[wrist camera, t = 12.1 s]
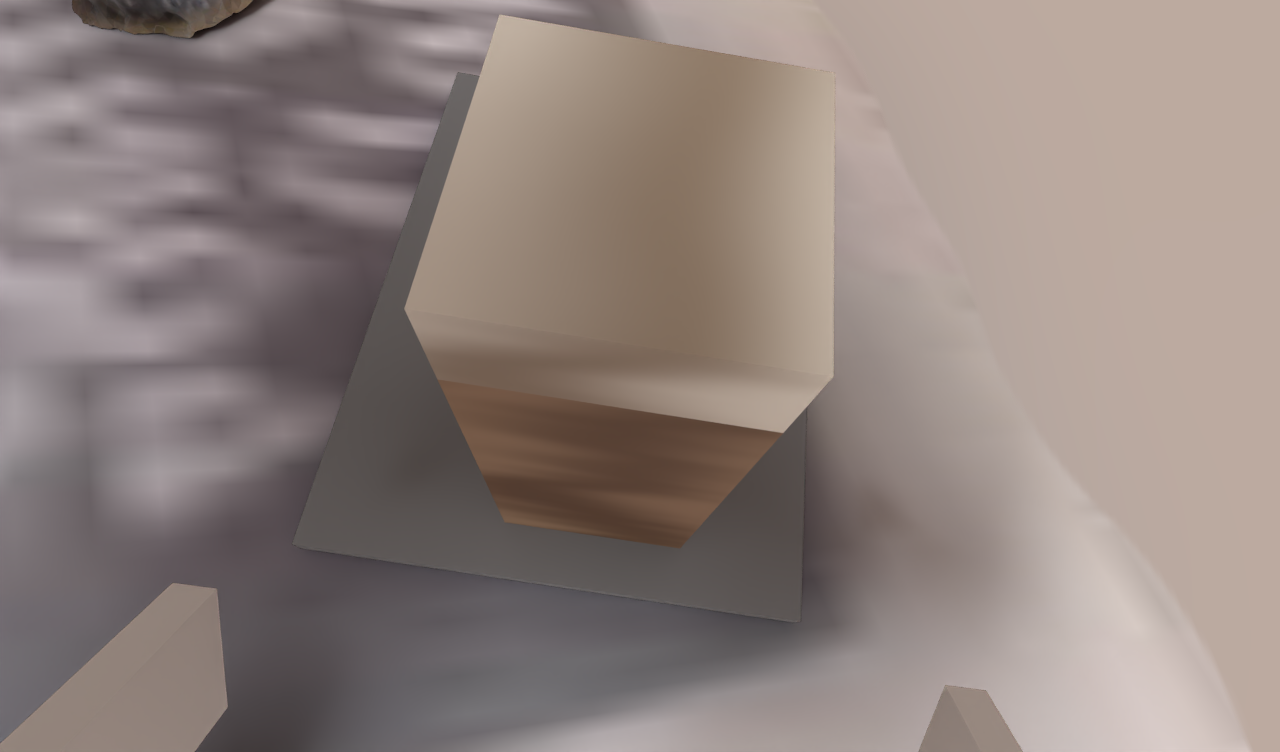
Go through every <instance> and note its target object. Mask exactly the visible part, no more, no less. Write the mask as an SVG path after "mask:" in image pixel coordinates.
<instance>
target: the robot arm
mask: <svg viewBox="0 0 1280 752" xmlns="http://www.w3.org/2000/svg"><path fill="white" fill-rule="evenodd" d="M227 708H228V704H227V693H226V682H225V671H224V660H223V649H222V638H221V628H220V617H219V606H218V595H217V589H215V588H208V587H200V586H193V585H185V584H177V583H172V584H171V585H170V586H169V587H168V588H167V589H166V590H164V591H163V592H162V593H161V594H160V595H159V596H158V597H157V598H156V599H155V600H154V601H153V602H152V603H151V604H149V605H148V606H147V607H146V608H145V609H144V610H143V611H142V612H141V613H140V614H139V615H138V616H137V617H136V618H134V619H133V620H132V621H131V622H130V623H129V624H128V625H127V626H126V627H125V628H124V629H123V630H122V631H120V632H119V633H118V634H117V635H116V636H115V637H114V638H113V639H112V640H111V641H110V642H109V643H108V644H107V645H105V646H104V647H103V648H102V649H101V650H100V651H99V652H98V653H97V654H96V655H95V656H94V657H93V658H92V659H90V660H89V661H88V662H87V663H86V664H85V665H84V666H83V667H82V668H81V669H80V670H79V671H78V672H77V673H75V674H74V675H73V676H72V677H71V678H70V679H69V680H68V681H67V682H66V683H65V684H64V685H63V686H62V687H60V688H59V689H58V690H57V691H56V692H55V693H54V694H53V695H52V696H51V697H50V698H49V699H48V700H47V701H45V702H44V703H43V704H42V705H41V706H40V707H39V708H38V709H37V710H36V711H35V712H34V713H33V714H32V715H30V716H29V717H28V718H27V719H26V720H25V721H24V722H23V723H22V724H21V725H20V726H19V727H18V728H17V729H15V730H14V731H13V732H12V733H11V734H10V735H9V736H8V737H7V738H6V739H5V740H4V741H3V742H2V743H0V752H195V751H196V749H197V748H198V747H199V745H200V744H201V743H202V741H203V740H204V739H205V737H206V736H207V734H208V733H209V732H210V730H211V729H212V728H213V726H214V725H215V724H216V722H217V721H218V720H219V718H220V717H221V716H222V714H223V713H224V712H225V710H226V709H227ZM919 752H1023V751H1022V749H1021V748H1020V746H1019V744H1018V743H1017V741H1016V739H1015V738H1014V736H1013V734H1012V733H1011V731H1010V729H1009V728H1008V726H1007V724H1006V723H1005V721H1004V719H1003V718H1002V716H1001V714H1000V713H999V711H998V709H997V708H996V706H995V704H994V703H993V701H992V699H991V698H990V696H989V694H988V693H987V691H986V690H978V689H971V688H963V687H956V686H948V685H945V687H944V690H943V692H942V695H941V697H940V700H939V702H938V705H937V707H936V710H935V712H934V714H933V717H932V719H931V722H930V724H929V727H928V729H927V732H926V734H925V737H924V739H923V742H922V744H921V747H920V749H919Z"/></svg>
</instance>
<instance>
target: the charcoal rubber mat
mask: <svg viewBox="0 0 1280 752" xmlns="http://www.w3.org/2000/svg"><path fill="white" fill-rule="evenodd" d="M479 77H480V76H476V75H471V74H465V73H459V72H458V73H457V76H456V79H455V81H454V84H453V87H452V90H451V93H450V96H449V99H448V101H447V104H446V107H445V110H444V113H443V116H442V118H441V121H440V124H439V127H438V130H437V133H436V135H435V138H434V141H433V144H432V147H431V150H430V153H429V155H428V158H427V161H426V164H425V167H424V170H423V172H422V175H421V178H420V181H419V184H418V187H417V189H416V192H415V195H414V198H413V201H412V204H411V207H410V209H409V212H408V215H407V218H406V221H405V224H404V226H403V229H402V232H401V235H400V238H399V241H398V243H397V246H396V249H395V252H394V255H393V258H392V261H391V263H390V266H389V269H388V272H387V275H386V278H385V280H384V283H383V286H382V289H381V292H380V295H379V297H378V300H377V303H376V306H375V309H374V312H373V314H372V317H371V320H370V323H369V326H368V329H367V332H366V334H365V337H364V340H363V343H362V346H361V349H360V351H359V354H358V357H357V360H356V363H355V366H354V368H353V371H352V374H351V377H350V380H349V383H348V386H347V388H346V391H345V394H344V397H343V400H342V403H341V405H340V408H339V411H338V414H337V417H336V420H335V422H334V425H333V428H332V431H331V434H330V437H329V440H328V442H327V445H326V448H325V451H324V454H323V457H322V459H321V462H320V465H319V468H318V471H317V474H316V476H315V479H314V482H313V485H312V488H311V491H310V494H309V496H308V499H307V502H306V505H305V508H304V511H303V513H302V516H301V519H300V522H299V525H298V528H297V530H296V533H295V536H294V539H293V542H292V545H294V546H296V547H298V548H302V549H309V550H315V551H322V552H329V553H335V554H342V555H349V556H355V557H362V558H368V559H375V560H382V561H388V562H395V563H402V564H408V565H415V566H421V567H428V568H435V569H441V570H448V571H455V572H461V573H468V574H474V575H481V576H488V577H494V578H501V579H508V580H514V581H521V582H527V583H534V584H541V585H547V586H554V587H561V588H567V589H574V590H580V591H587V592H594V593H600V594H607V595H614V596H620V597H627V598H633V599H640V600H647V601H653V602H660V603H667V604H673V605H680V606H686V607H693V608H700V609H706V610H713V611H720V612H726V613H733V614H739V615H746V616H753V617H759V618H766V619H772V620H779V621H786V622H792V623H795V622H800V621H801V599H802V564H803V529H804V494H805V459H806V424H807V407H806V408H805V409H804V410H803V412H802V413H801V414H800V415H799V416H798V417H797V418H796V419H795V420H794V422H793V423H792V424H791V425H790V426H789V427H788V428H787V429H786V431H785V432H784V433H783V434H782V435H781V436H780V437H779V438H778V439H777V441H776V442H775V443H774V444H773V445H772V446H771V447H770V448H769V450H768V451H767V452H766V453H765V454H764V455H763V456H762V457H761V459H760V460H759V461H758V462H757V463H756V464H755V465H754V466H753V467H752V469H751V470H750V471H749V472H748V473H747V474H746V475H745V476H744V478H743V479H742V480H741V481H740V482H739V483H738V484H737V485H736V486H735V488H734V489H733V490H732V491H731V492H730V493H729V494H728V495H727V497H726V498H725V499H724V500H723V501H722V502H721V503H720V504H719V505H718V507H717V508H716V509H715V510H714V511H713V512H712V513H711V514H710V516H709V517H708V518H707V519H706V520H705V521H704V522H703V523H702V525H701V526H700V527H699V528H698V529H697V530H696V531H695V532H694V533H693V535H692V536H691V537H690V538H689V539H688V540H687V541H686V542H685V544H684V545H683V546H682V547H681V548H673V547H667V546H660V545H653V544H647V543H640V542H633V541H626V540H620V539H613V538H606V537H600V536H593V535H586V534H579V533H573V532H566V531H559V530H553V529H546V528H539V527H532V526H526V525H519V524H512V523H505V522H504V520H503V518H502V516H501V514H500V511H499V509H498V507H497V505H496V503H495V501H494V499H493V497H492V494H491V492H490V490H489V488H488V486H487V484H486V482H485V480H484V477H483V475H482V473H481V471H480V469H479V467H478V465H477V463H476V460H475V458H474V456H473V454H472V452H471V450H470V448H469V445H468V443H467V441H466V439H465V437H464V435H463V433H462V431H461V428H460V426H459V424H458V422H457V420H456V418H455V416H454V414H453V411H452V409H451V407H450V405H449V403H448V401H447V399H446V397H445V394H444V392H443V390H442V388H441V386H440V384H439V382H438V380H437V377H436V375H435V373H434V371H433V369H432V367H431V365H430V363H429V360H428V358H427V356H426V354H425V352H424V350H423V348H422V346H421V343H420V341H419V339H418V337H417V335H416V333H415V331H414V329H413V326H412V324H411V322H410V320H409V318H408V316H407V314H406V312H405V309H404V308H405V305H406V302H407V299H408V296H409V293H410V290H411V286H412V283H413V280H414V277H415V274H416V271H417V268H418V265H419V262H420V259H421V256H422V252H423V249H424V246H425V243H426V240H427V237H428V234H429V231H430V228H431V225H432V222H433V219H434V215H435V212H436V209H437V206H438V203H439V200H440V197H441V194H442V191H443V188H444V185H445V182H446V178H447V175H448V172H449V169H450V166H451V163H452V160H453V157H454V154H455V151H456V148H457V145H458V141H459V138H460V135H461V132H462V129H463V126H464V123H465V120H466V117H467V114H468V111H469V108H470V104H471V101H472V98H473V95H474V92H475V89H476V86H477V83H478V80H479Z"/></svg>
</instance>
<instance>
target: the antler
mask: <svg viewBox="0 0 1280 752" xmlns="http://www.w3.org/2000/svg"><path fill="white" fill-rule="evenodd" d="M252 1H253V0H72V8H73V11H74V12H75V13H76V14H78V15H79V16H80V18H81V19H82V21H83V23H85V24H89V25H90V26H91V25H94V26H97V27H99V28H101V29H103V28H106V29H112V28H117V29H119V30H120V31H122V30H124V31H127V32H129V33H132V34H137V33H140V34H147V33H164V34H166V35H169V36H174V37H182V38H191V37H192V36H193V34H194V33H195V31H198V30H201V29H205V28H209V27H213V26H215V25H216V24H218V23H219V22H221V21H222V20H224V19H226V18H227V17H229V16H231V15H232V13H239V12H240V11H242V10H243V9H244V8H246V7H247V6H248V5H249V4H250V3H251V2H252Z"/></svg>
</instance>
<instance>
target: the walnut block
mask: <svg viewBox="0 0 1280 752" xmlns="http://www.w3.org/2000/svg"><path fill="white" fill-rule="evenodd" d="M834 193H835V73H833V72H828V71H822V70H816V69H810V68H805V67H799V66H793V65H787V64H782V63H776V62H770V61H764V60H759V59H753V58H747V57H741V56H736V55H730V54H724V53H718V52H712V51H707V50H701V49H695V48H689V47H684V46H678V45H672V44H666V43H661V42H655V41H649V40H643V39H638V38H632V37H626V36H620V35H615V34H609V33H603V32H597V31H591V30H586V29H580V28H574V27H568V26H563V25H557V24H551V23H545V22H540V21H534V20H528V19H522V18H517V17H511V16H505V15H499V18H498V21H497V24H496V27H495V30H494V33H493V37H492V40H491V43H490V46H489V49H488V52H487V55H486V58H485V61H484V64H483V67H482V70H481V74H480V77H479V80H478V83H477V86H476V89H475V92H474V95H473V98H472V101H471V104H470V108H469V111H468V114H467V117H466V120H465V123H464V126H463V129H462V132H461V135H460V138H459V141H458V145H457V148H456V151H455V154H454V157H453V160H452V163H451V166H450V169H449V172H448V175H447V178H446V182H445V185H444V188H443V191H442V194H441V197H440V200H439V203H438V206H437V209H436V212H435V215H434V219H433V222H432V225H431V228H430V231H429V234H428V237H427V240H426V243H425V246H424V249H423V252H422V256H421V259H420V262H419V265H418V268H417V271H416V274H415V277H414V280H413V283H412V286H411V290H410V293H409V296H408V299H407V302H406V305H405V308H404V309H405V312H406V314H407V316H408V318H409V320H410V322H411V324H412V326H413V329H414V331H415V333H416V335H417V337H418V339H419V341H420V343H421V346H422V348H423V350H424V352H425V354H426V356H427V358H428V360H429V363H430V365H431V367H432V369H433V371H434V373H435V375H436V377H437V380H438V382H439V384H440V386H441V388H442V390H443V392H444V394H445V397H446V399H447V401H448V403H449V405H450V407H451V409H452V411H453V414H454V416H455V418H456V420H457V422H458V424H459V426H460V428H461V431H462V433H463V435H464V437H465V439H466V441H467V443H468V445H469V448H470V450H471V452H472V454H473V456H474V458H475V460H476V463H477V465H478V467H479V469H480V471H481V473H482V475H483V477H484V480H485V482H486V484H487V486H488V488H489V490H490V492H491V494H492V497H493V499H494V501H495V503H496V505H497V507H498V509H499V511H500V514H501V516H502V518H503V520H504V522H505V523H512V524H519V525H526V526H532V527H539V528H546V529H553V530H559V531H566V532H573V533H579V534H586V535H593V536H600V537H606V538H613V539H620V540H626V541H633V542H640V543H647V544H653V545H660V546H667V547H673V548H681V547H682V546H683V545H684V544H685V542H686V541H687V540H688V539H689V538H690V537H691V536H692V535H693V533H694V532H695V531H696V530H697V529H698V528H699V527H700V526H701V525H702V523H703V522H704V521H705V520H706V519H707V518H708V517H709V516H710V514H711V513H712V512H713V511H714V510H715V509H716V508H717V507H718V505H719V504H720V503H721V502H722V501H723V500H724V499H725V498H726V497H727V495H728V494H729V493H730V492H731V491H732V490H733V489H734V488H735V486H736V485H737V484H738V483H739V482H740V481H741V480H742V479H743V478H744V476H745V475H746V474H747V473H748V472H749V471H750V470H751V469H752V467H753V466H754V465H755V464H756V463H757V462H758V461H759V460H760V459H761V457H762V456H763V455H764V454H765V453H766V452H767V451H768V450H769V448H770V447H771V446H772V445H773V444H774V443H775V442H776V441H777V439H778V438H779V437H780V436H781V435H782V434H783V433H784V432H785V431H786V429H787V428H788V427H789V426H790V425H791V424H792V423H793V422H794V420H795V419H796V418H797V417H798V416H799V415H800V414H801V413H802V412H803V410H804V409H805V408H806V407H807V406H808V405H809V404H810V403H811V401H812V400H813V399H814V398H815V397H816V396H817V395H818V394H819V393H820V391H821V390H822V389H823V388H824V387H825V386H826V385H827V384H828V382H829V381H830V380H831V379H832V378H833V377H834Z"/></svg>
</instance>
